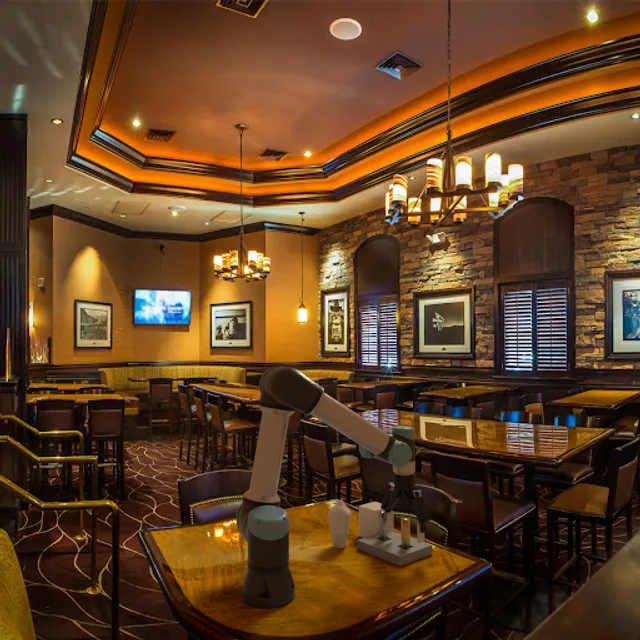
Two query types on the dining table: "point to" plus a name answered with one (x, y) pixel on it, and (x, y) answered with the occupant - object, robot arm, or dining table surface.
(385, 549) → the socket board
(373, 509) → the block
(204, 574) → the dining table surface
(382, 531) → the steel pin
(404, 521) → the brass pin
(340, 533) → the soft serve ice cream cone
